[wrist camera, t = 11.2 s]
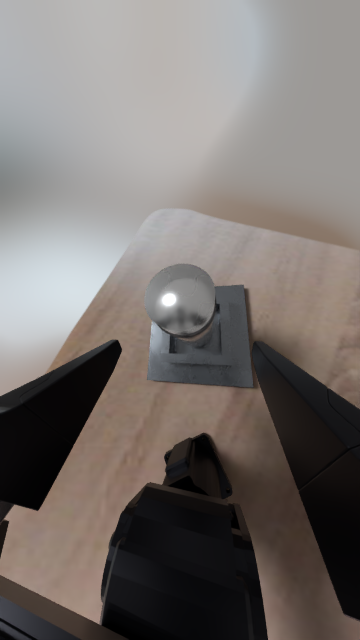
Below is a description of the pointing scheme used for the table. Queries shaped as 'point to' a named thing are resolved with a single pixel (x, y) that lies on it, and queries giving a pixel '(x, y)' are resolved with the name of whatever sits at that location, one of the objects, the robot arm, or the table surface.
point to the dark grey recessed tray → (207, 348)
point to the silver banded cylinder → (182, 303)
